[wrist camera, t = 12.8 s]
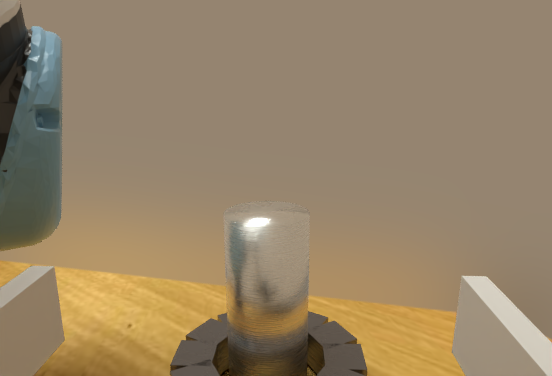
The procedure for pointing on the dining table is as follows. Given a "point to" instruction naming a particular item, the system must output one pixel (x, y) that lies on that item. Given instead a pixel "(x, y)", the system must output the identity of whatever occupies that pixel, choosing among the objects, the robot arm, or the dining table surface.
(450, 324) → the dining table surface
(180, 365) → the ring
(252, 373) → the cylinder
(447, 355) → the dining table surface
